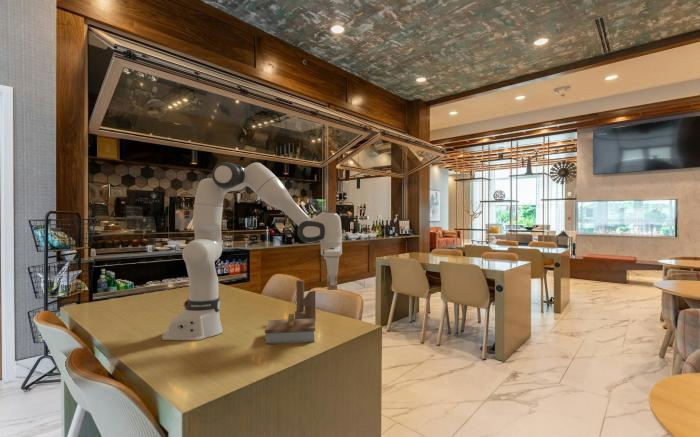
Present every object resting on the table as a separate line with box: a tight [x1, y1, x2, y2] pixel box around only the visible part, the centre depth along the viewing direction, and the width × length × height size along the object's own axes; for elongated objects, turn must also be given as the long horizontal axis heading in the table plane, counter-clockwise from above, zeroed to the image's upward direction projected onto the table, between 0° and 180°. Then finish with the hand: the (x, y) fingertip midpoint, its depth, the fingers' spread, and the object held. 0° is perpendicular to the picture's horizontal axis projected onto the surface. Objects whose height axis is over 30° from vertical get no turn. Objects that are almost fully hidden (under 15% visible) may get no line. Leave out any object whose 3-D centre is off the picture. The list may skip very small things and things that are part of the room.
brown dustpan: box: [294, 279, 317, 322], centre depth 158 cm, size 4×11×18 cm, turn 48°
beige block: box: [326, 272, 338, 291], centre depth 142 cm, size 4×4×6 cm
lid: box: [264, 313, 316, 334], centre depth 134 cm, size 19×13×4 cm
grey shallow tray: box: [265, 331, 315, 345], centre depth 134 cm, size 18×12×4 cm, turn 96°
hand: (332, 283), depth 142 cm, fingers closed on beige block, 4 cm apart
